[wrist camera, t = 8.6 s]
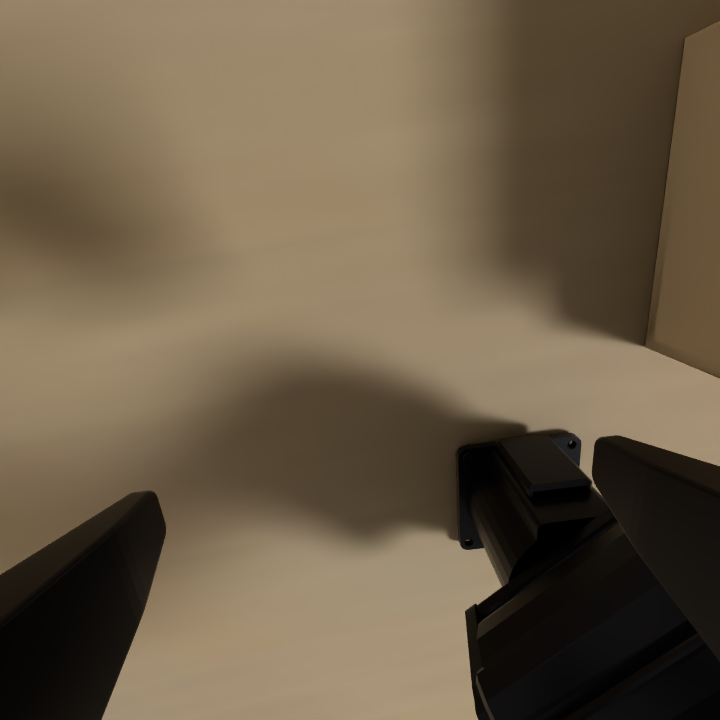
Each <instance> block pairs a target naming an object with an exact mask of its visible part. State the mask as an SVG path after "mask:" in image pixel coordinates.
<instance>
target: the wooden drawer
mask: <svg viewBox="0 0 720 720" xmlns="http://www.w3.org/2000/svg"><path fill="white" fill-rule="evenodd" d="M645 347H646V348H649V349H651V350H653V351H656V352H658V353H660V354H663V355H665V356H668V357H670V358H672V359H675V360H677V361H680V362H682V363H684V364H687V365H689V366H691V367H694V368H696V369H699V370H701V371H703V372H706V373H708V374H711V375H713V376H715V377H718V378H720V21H718V22H716V23H714V24H712V25H710V26H708V27H706V28H704V29H702V30H700V31H698V32H696V33H694V34H692V35H690V36H688V37H686V38H685V43H684V51H683V58H682V66H681V74H680V82H679V89H678V97H677V105H676V113H675V120H674V128H673V136H672V144H671V151H670V159H669V167H668V174H667V182H666V190H665V198H664V205H663V213H662V221H661V229H660V236H659V244H658V252H657V260H656V267H655V275H654V283H653V291H652V298H651V306H650V314H649V322H648V329H647V337H646V345H645Z"/></svg>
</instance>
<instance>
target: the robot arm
mask: <svg viewBox="0 0 720 720" xmlns="http://www.w3.org/2000/svg"><path fill="white" fill-rule="evenodd" d="M570 441H572V443H571V444H570V445H568V446H567V444H568V443H569V442H570ZM467 453H469V454H470V455H469V456H468V457H466V458H463V456H464V455H465V454H467ZM580 453H581V440H580V439H579V438H578V437H577V436H576V435H575V434H573V433H564V434H555V435H545V434H541V435H533V436H525V437H516V438H508V439H500V440H498V441H497V442H488V443H480V444H472V445H464V446H461V447H460V448H459V449H458V450H457V452H456V473H457V511H458V540H459V543H460V545H461V547H462V548H463V549H465V550H471V549H479V548H485V550H486V553H487V555H488V557H489V559H490V561H491V564H492V566H493V568H494V570H495V572H496V574H497V577H498V579H499V581H500V583H501V585H502V587H501V588H500V589H499V590H497V591H496V592H495V593H493V594H492V595H491V596H489V597H488V598H486V599H485V600H484V601H482V602H481V603H480V604H478V605H477V604H474V605H473V606H471V607H470V608H469V609H467V610H466V611H465V616H466V626H467V637H468V648H469V659H470V669H471V680H472V689H473V695H474V701H475V710H476V715H477V717H478V719H479V720H720V466H717V465H713V464H710V463H707V462H704V461H700V460H697V459H694V458H691V457H687V456H684V455H681V454H678V453H674V452H671V451H668V450H665V449H661V448H658V447H655V446H652V445H648V444H645V443H642V442H639V441H635V440H632V439H629V438H626V437H622V436H618V435H614V436H606V437H600V438H598V439H597V440H596V442H595V445H594V455H593V465H592V477H593V481H594V483H595V485H596V487H597V488H598V490H599V492H600V493H601V495H602V496H601V495H600V494H599V493H598V492H597V491H596V490H595V489H594V488H593V486H592V481H591V479H590V478H589V477H588V476H587V475H586V474H585V473H584V472H583V471H582V470H581V469H580V468H579V465H580ZM165 535H166V524H165V520H164V517H163V514H162V510H161V507H160V504H159V500H158V497H157V495H156V494H155V492H153V491H142V492H134V493H131V494H129V495H127V496H126V497H124V498H122V499H121V500H119V501H118V502H116V503H114V504H113V505H111V506H110V507H108V508H106V509H105V510H103V511H102V512H100V513H98V514H97V515H95V516H94V517H92V518H91V519H89V520H87V521H86V522H84V523H83V524H81V525H79V526H78V527H76V528H75V529H73V530H71V531H70V532H68V533H67V534H65V535H63V536H62V537H60V538H59V539H57V540H55V541H54V542H52V543H51V544H49V545H47V546H46V547H44V548H43V549H41V550H39V551H38V552H36V553H35V554H33V555H31V556H30V557H28V558H27V559H25V560H23V561H22V562H20V563H19V564H17V565H15V566H14V567H12V568H11V569H9V570H7V571H6V572H4V573H3V574H1V575H0V720H102V717H103V714H104V712H105V709H106V707H107V704H108V702H109V699H110V697H111V694H112V692H113V689H114V687H115V684H116V682H117V679H118V676H119V674H120V671H121V669H122V666H123V664H124V661H125V659H126V656H127V654H128V651H129V649H130V646H131V644H132V641H133V638H134V636H135V633H136V631H137V628H138V626H139V623H140V620H141V618H142V615H143V612H144V609H145V606H146V603H147V600H148V596H149V593H150V589H151V586H152V582H153V579H154V575H155V571H156V568H157V564H158V561H159V557H160V554H161V550H162V547H163V543H164V539H165ZM467 539H470V540H469V541H466V540H467Z"/></svg>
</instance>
